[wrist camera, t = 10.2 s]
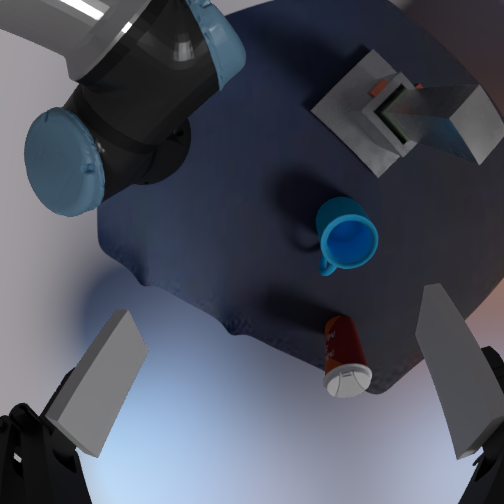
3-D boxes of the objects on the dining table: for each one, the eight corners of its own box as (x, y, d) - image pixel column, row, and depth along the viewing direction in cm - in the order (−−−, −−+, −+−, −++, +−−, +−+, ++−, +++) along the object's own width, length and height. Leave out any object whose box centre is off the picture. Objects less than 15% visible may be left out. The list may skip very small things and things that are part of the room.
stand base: (309, 110, 38) (317, 110, 28) (370, 50, 32) (396, 33, 22) (375, 175, 41) (401, 197, 31) (431, 118, 35) (471, 124, 25)
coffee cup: (315, 316, 55) (319, 376, 41) (356, 306, 52) (371, 365, 39) (323, 345, 58) (327, 403, 45) (361, 336, 56) (374, 394, 43)
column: (369, 111, 30) (446, 118, 14) (391, 90, 29) (479, 81, 12) (392, 136, 31) (479, 168, 15) (413, 115, 30) (509, 131, 13)
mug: (329, 187, 43) (337, 204, 36) (373, 209, 44) (388, 229, 37) (297, 251, 49) (298, 277, 42) (339, 269, 49) (346, 296, 42)
